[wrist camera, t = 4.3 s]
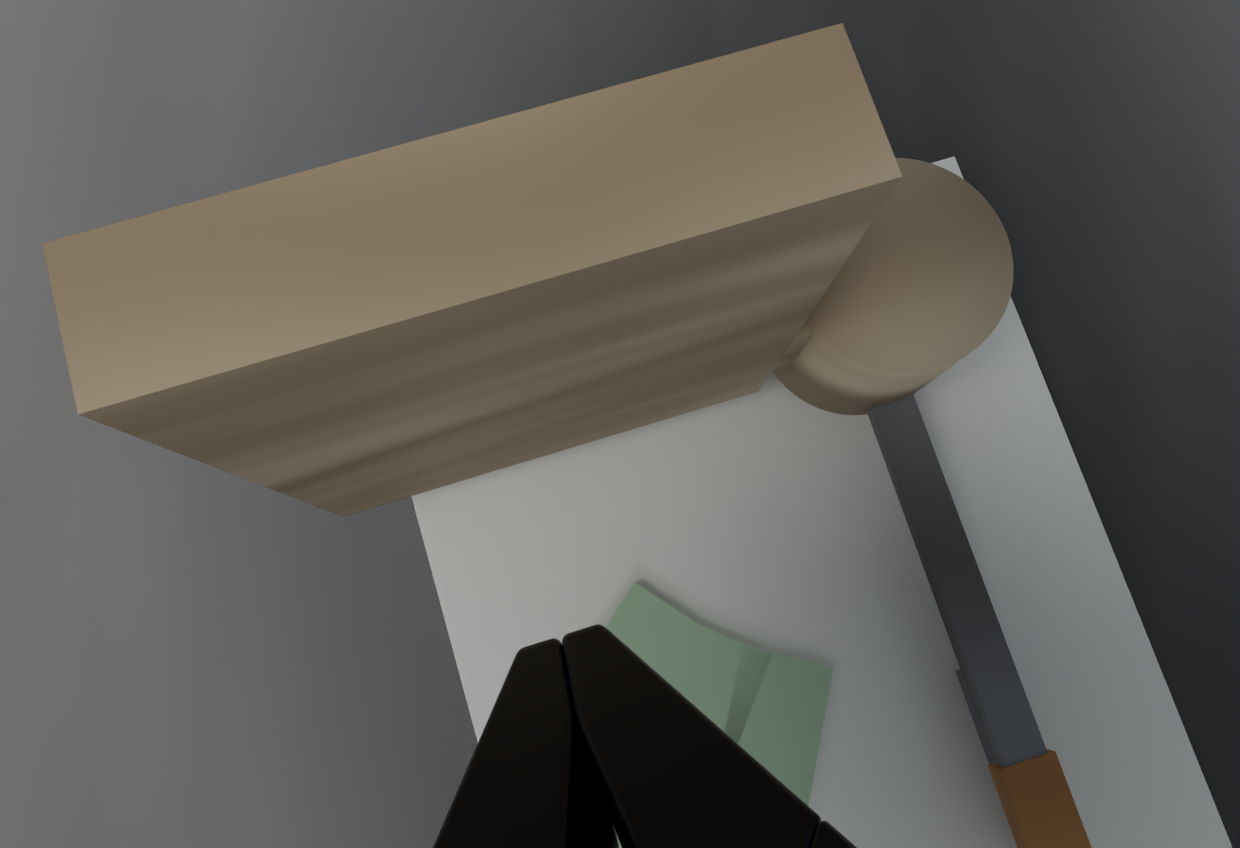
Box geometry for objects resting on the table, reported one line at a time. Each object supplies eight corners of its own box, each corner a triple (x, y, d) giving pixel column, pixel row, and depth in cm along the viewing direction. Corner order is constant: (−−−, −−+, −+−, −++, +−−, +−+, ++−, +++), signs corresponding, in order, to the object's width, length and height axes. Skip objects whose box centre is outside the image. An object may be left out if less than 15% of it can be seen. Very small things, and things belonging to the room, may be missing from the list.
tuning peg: (1140, 823, 15) (1770, 1068, 7) (487, 1049, 15) (328, 1618, 6) (904, 215, 17) (1181, -160, 9) (316, 386, 17) (22, 151, 8)
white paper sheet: (1204, 869, 17) (1261, 893, 15) (582, 1086, 16) (580, 1134, 14) (933, 184, 19) (960, 148, 18) (381, 344, 18) (361, 321, 17)
